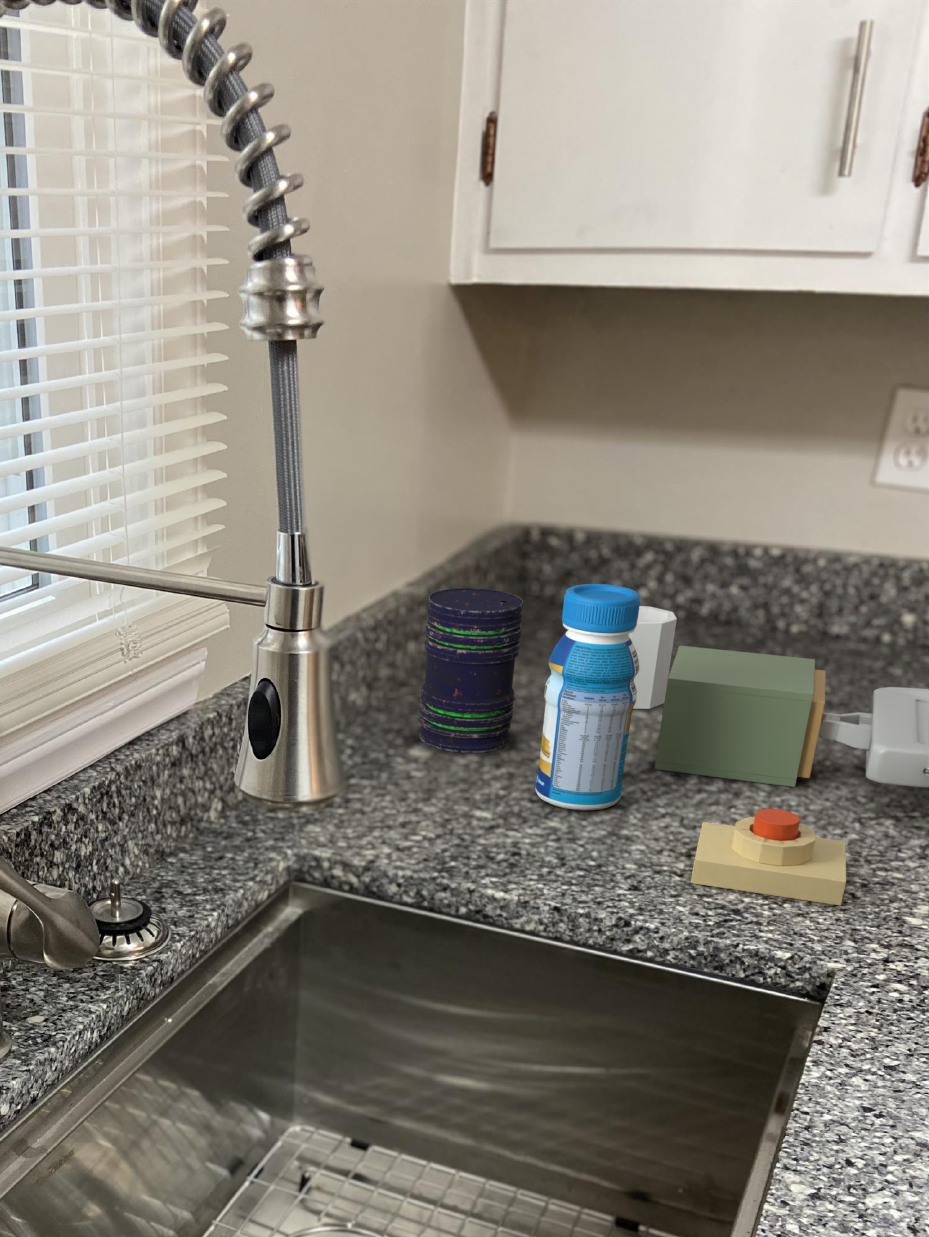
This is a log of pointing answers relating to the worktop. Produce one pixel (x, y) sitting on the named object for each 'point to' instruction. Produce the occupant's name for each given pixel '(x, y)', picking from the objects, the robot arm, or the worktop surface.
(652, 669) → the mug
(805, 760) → the drawer
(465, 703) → the storage jar
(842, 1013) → the worktop surface
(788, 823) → the button
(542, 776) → the beverage bottle
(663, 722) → the cabinet
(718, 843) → the control block
